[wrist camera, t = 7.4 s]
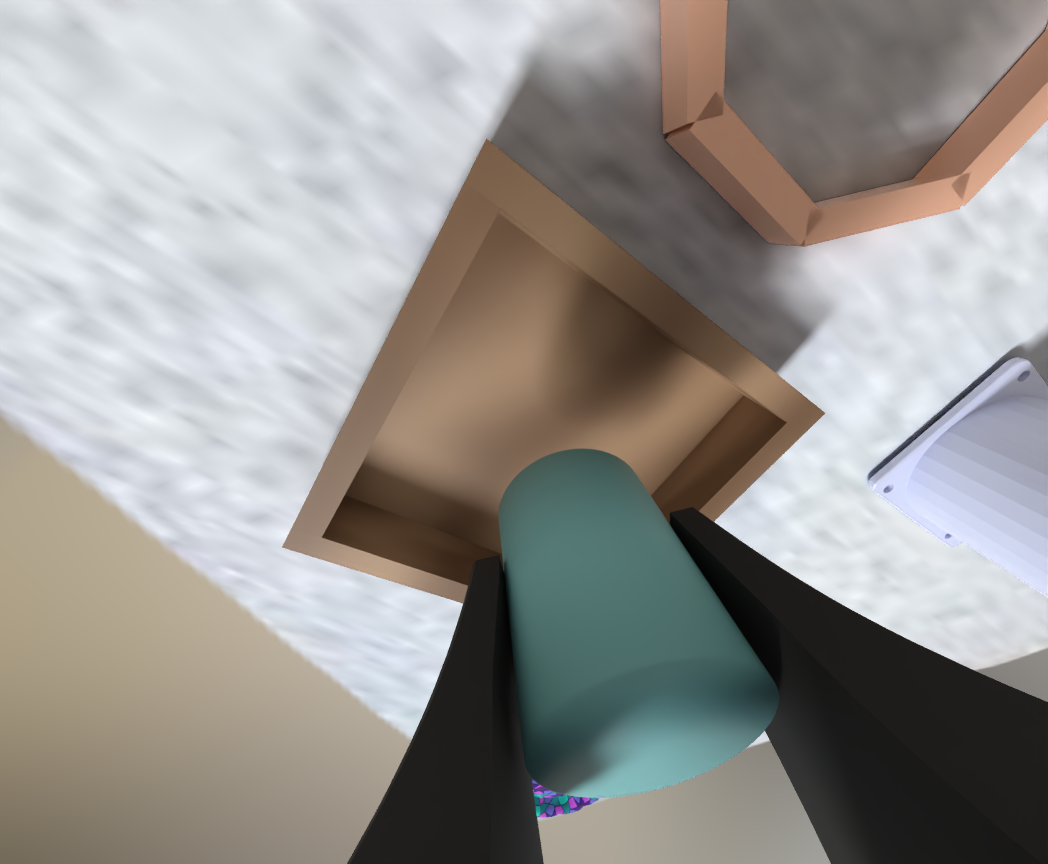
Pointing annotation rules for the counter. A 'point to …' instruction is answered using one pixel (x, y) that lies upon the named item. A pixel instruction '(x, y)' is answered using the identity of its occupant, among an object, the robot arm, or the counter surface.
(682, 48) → the collar
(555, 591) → the teal tapered cylinder
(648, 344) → the tray
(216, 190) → the counter surface
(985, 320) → the counter surface
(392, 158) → the counter surface
